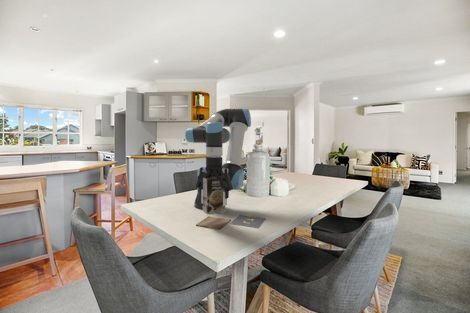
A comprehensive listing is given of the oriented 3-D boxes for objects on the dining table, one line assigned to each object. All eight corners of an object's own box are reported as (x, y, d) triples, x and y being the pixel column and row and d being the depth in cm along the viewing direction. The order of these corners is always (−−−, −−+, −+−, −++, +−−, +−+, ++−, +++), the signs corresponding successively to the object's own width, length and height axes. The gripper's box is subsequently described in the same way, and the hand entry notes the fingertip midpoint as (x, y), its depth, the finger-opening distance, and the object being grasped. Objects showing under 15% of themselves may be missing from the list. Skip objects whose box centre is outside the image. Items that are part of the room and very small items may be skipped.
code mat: (229, 223, 108) (229, 223, 108) (239, 214, 121) (239, 214, 121) (258, 228, 103) (258, 227, 103) (266, 218, 116) (266, 217, 116)
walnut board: (196, 225, 105) (196, 224, 105) (208, 217, 116) (208, 216, 116) (220, 229, 101) (220, 228, 101) (230, 220, 112) (230, 219, 112)
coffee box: (207, 215, 103) (207, 179, 102) (202, 211, 109) (202, 177, 108) (225, 212, 107) (226, 177, 106) (220, 208, 113) (220, 175, 112)
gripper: (188, 156, 107) (188, 203, 108) (234, 158, 99) (234, 209, 100) (196, 155, 114) (196, 199, 115) (240, 156, 106) (239, 204, 107)
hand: (214, 204), depth 108 cm, fingers closed on coffee box, 10 cm apart
